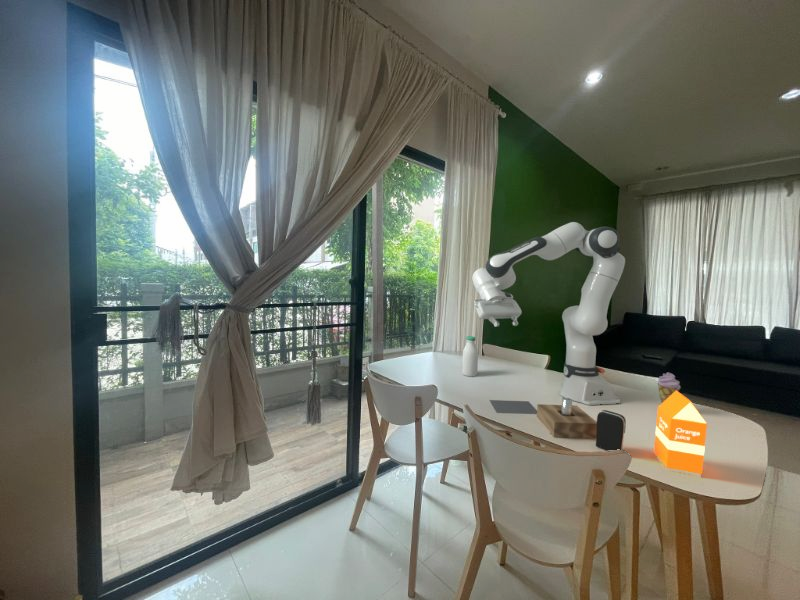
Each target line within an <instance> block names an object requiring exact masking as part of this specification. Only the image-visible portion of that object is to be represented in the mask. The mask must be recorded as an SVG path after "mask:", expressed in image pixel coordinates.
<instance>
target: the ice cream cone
mask: <svg viewBox="0 0 800 600" xmlns="http://www.w3.org/2000/svg"><path fill="white" fill-rule="evenodd" d="M680 383H681V382H680V381H679V380H677V379H676V376H675V375H674V374H673V373H671V372H666V373H662V375H661V376H659V377H658V382H657V388H658V394H659V398H660V402H661V404H662V403H663V402H664V401H665V400H666V399H667V398H668V397H669V396H671V395H672V394H673V393H674V392H675V391H678V392H679V391H680V389H681V385H680Z"/></svg>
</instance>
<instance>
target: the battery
mask: <svg viewBox="0 0 800 600" xmlns="http://www.w3.org/2000/svg"><path fill="white" fill-rule="evenodd" d="M596 417H597V418H596V422H597V428H596V439H595V446H596V447H597V448H600V449H602V450H605V451H607V450H617V449H620V450H622V451H623V446H624V445H623V444H624V443H623V442H624V438H625V434H626V423H627V421H626V417H625V416H624V415H622V414H620V413H618V412H614V411H611V410H607V409H602V410H601V411H599V412H598V413H597V416H596Z"/></svg>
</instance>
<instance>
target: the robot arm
mask: <svg viewBox="0 0 800 600" xmlns="http://www.w3.org/2000/svg"><path fill="white" fill-rule="evenodd" d="M620 237H621V235H620V234H619V231H618V230H617V229H615V228H613V227H610V226H600V227H597V228H593V229H591V230H587V229H585V228H584V226H583V225H582V224H580V223H579V222H576V221H570V222H568V223H565V224H564V225H561V226H559V227H557V228H556V229H554V230H552V231H550V232H548V233H546V234H545V235H543V236H536V237H532V238H531V239H528V240H526V241H524V242H522V243H519V244H518V245H515V246H514V247H511V248H510V249H508V250H507V249H506V250H505V251H502V252H498V253H494V254H492V256H490V257H489V258H488V259H487V260H486V263H485V267H480V268H478V269H477V270H475V271H474V272H473V274H472V276H471V279H472V284H473V286H474V289H475V291H476V292H477V293H478V294H479V298H480V299H475V300H474V301H473V304H474V307H475V308H476V313H477V315H478V317H479V319H481V320H488V321H489V322H490V323H491V324H493V326H494V328H495V327H500V321H499V320H497V319H511V320H512V322H511V324H512V326H514V327H516V326H518V325H519V322H518V318H519V317H520V316H521V315H522V309H521V307H520V306H519V303H517V300H515V299H514V296H513V295H512V293H508V292H505V291H504V290H506V289H509V288H511V287H513V286H514V284H516V283H515V282H516V280H517V276H516V273H515V271H514V268H513V266H514V265H515V264H517V263H518V262H520V261H522V260H524V259H527V258H529V257H530V256H534V255H535V256H538V257H539V258H541V259H544V260H546V261H554V260H557V259H559V258H561V257H563V256H564V255H565V254H567V253H569V252H571V251H572V250H576V251H577V252H578V253H580V254H581V255H582V256H585V257H588V258H592V257H593V263H592V267H591V268H590V270H589V273H588V275H587V276H586V279H585V281H584V283H583V285H582V287H581V291H580V292H581V296H580V301H579V305H573V306H569V307H567V308H565V309H564V311H562V315H561V319H562V322H563V326H564V327H563V328H564V335H565V344H566V348H565V349H566V351H565V362H564V363H563V364H564V365H563V375H564V376H563V380H562V381H563V382H562V384H561V389H560V391H559V395H560V396H561V397H562V398H570V399H572V402H578V403H581V404H584V405H587V406H596V405H597V406H599V405H600V404H602V405H616V403H619V404H621V400H620V398H619V397H618V396H616V395H615V391H614V387H613V386H612V384H611V383H609V382H608V381H607V380H606V379H605V378H604V377H602V376H601V375H603V374H604V373H605V369H603V368H602V367H598V366H596V359H597V358H596V356H597V346H596V343H595V342H594V337H593V336H600V335H601V334H603V333H605V331H606V330H607V328H608V323H609V322H608V319H607V314H608V309H609V305H610V302H611V299H612V296H613V293H614V292H615V290H616V288H617V286H618V284H619V281H620V279H621V276H622V274H623V273H624V268H625V265H626V258H625V256H623V254H621V253H619V251H620V250H621V247H620V241H621V238H620ZM599 373H600V374H601V375H600V374H599Z"/></svg>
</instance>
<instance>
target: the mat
mask: <svg viewBox="0 0 800 600" xmlns="http://www.w3.org/2000/svg"><path fill="white" fill-rule="evenodd" d="M489 403H490V404H491V406H492V407H493V409H494V411H495V412H496V414H514V415H515V414H517V415H519V414H521V415H537V408H535V407H534V405H532V403H530V401H528V400H526V401H525V400H502V399H501V400H500V399H489Z"/></svg>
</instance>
